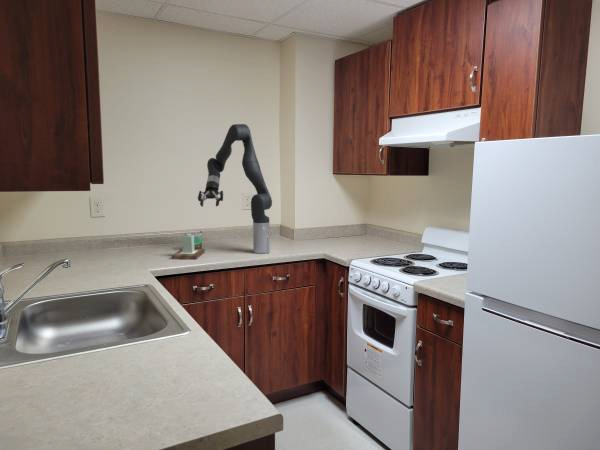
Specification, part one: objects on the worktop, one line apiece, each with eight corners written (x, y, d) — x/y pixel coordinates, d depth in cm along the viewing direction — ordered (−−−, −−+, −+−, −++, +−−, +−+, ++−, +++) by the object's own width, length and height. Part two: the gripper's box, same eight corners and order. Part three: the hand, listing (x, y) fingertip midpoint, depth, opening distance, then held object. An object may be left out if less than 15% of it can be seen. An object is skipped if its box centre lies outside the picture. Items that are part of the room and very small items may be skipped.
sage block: (194, 251, 248) (194, 233, 247) (191, 252, 243) (191, 235, 242) (185, 251, 248) (185, 233, 247) (182, 252, 243) (182, 234, 242)
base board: (204, 252, 254) (204, 248, 254) (196, 259, 237) (196, 255, 236) (181, 252, 255) (181, 248, 255) (171, 259, 237) (171, 255, 237)
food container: (191, 251, 257) (191, 234, 256) (184, 250, 261) (184, 233, 259) (208, 248, 267) (207, 231, 265) (201, 247, 270) (200, 230, 269)
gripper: (199, 180, 264) (195, 201, 254) (223, 180, 264) (220, 201, 254) (202, 189, 270) (198, 210, 260) (225, 188, 270) (222, 209, 260)
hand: (209, 205), depth 257 cm, fingers open, 8 cm apart
